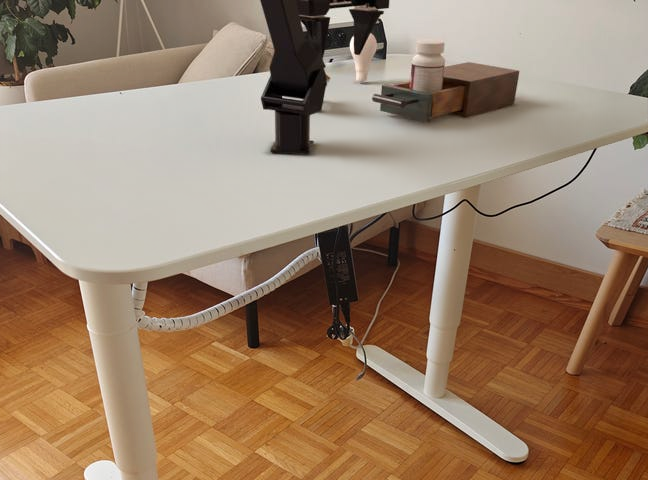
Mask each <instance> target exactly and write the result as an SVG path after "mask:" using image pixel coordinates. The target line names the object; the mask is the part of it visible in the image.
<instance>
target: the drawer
mask: <svg viewBox="0 0 648 480" xmlns="http://www.w3.org/2000/svg"><path fill="white" fill-rule="evenodd" d="M466 86H467V85H463V84H457V83H452V82H447V81H443V84H442V90H441V91H436V92H432V93H431V94H430V93H426V92H421V91H416V90H412V89H410V80H408V81H404V82H400V83H395V84H393V85H392V84H387V83H383V84H381V92H380V94H379V93H374V94H372V97H371V100H372V102H374V103H377V104H379V105H380V107H379V111H380V112H384V113H388V114H390V115H391V114H392V115H396V116H399V117H403V118H407V119H412V120H416V121H420V122H424V123H427V122H430V121H431V118H435V117H439V116H443V115H447V114H448V113H451V112H455V111H459V110H463V108H464V101H465V93H466Z"/></svg>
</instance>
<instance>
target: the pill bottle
mask: <svg viewBox="0 0 648 480" xmlns="http://www.w3.org/2000/svg"><path fill="white" fill-rule="evenodd" d="M445 44H446V43H445V41H443V40H439V39H427V38H425V39H418V40H416V45H415V52H416V53H417V54H416V55H414V56H413V57H412V60H411V69H410V80H409V81H410V89H412V90H416V91H421V92H426V93H430V94H431V93H432V92H436V91H441V90H442V84H443V75H444V67H446V59H445V57H444V55H442V54H443V53H444V52H445Z"/></svg>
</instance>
